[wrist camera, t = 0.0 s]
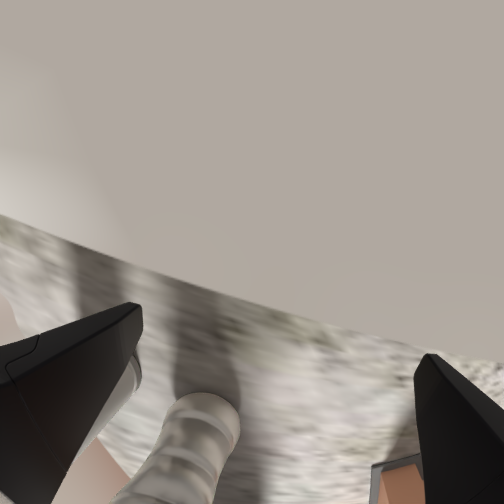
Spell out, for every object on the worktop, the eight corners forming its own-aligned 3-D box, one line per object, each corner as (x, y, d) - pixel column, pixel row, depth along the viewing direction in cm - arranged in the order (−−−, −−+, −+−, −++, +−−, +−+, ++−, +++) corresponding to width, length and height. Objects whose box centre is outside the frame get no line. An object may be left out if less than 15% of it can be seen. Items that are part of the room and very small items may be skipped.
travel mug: (82, 333, 27) (-72, 428, 8) (138, 343, 27) (-18, 480, 7) (92, 386, 28) (-31, 495, 8) (145, 399, 27) (31, 543, 8)
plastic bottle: (250, 434, 26) (206, 619, 7) (185, 436, 27) (105, 593, 8) (236, 380, 26) (160, 587, 6) (166, 385, 27) (47, 546, 7)
